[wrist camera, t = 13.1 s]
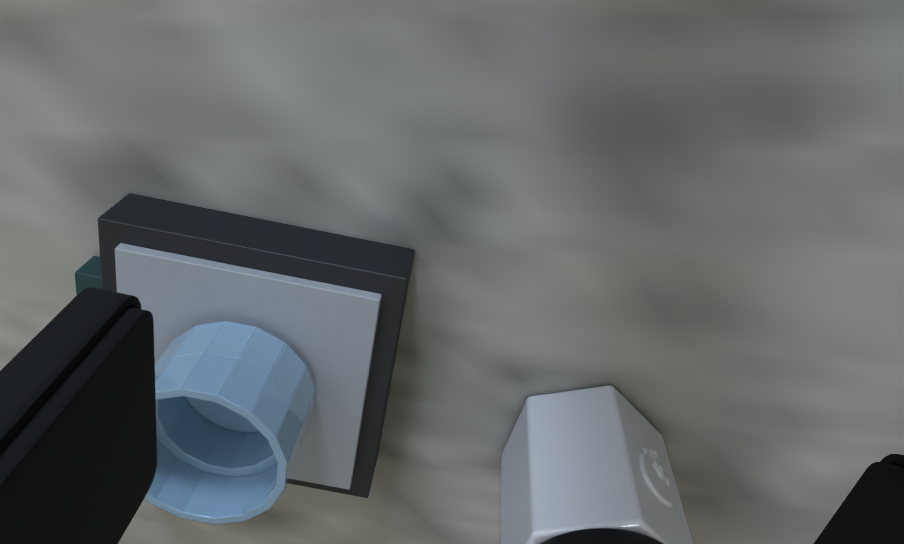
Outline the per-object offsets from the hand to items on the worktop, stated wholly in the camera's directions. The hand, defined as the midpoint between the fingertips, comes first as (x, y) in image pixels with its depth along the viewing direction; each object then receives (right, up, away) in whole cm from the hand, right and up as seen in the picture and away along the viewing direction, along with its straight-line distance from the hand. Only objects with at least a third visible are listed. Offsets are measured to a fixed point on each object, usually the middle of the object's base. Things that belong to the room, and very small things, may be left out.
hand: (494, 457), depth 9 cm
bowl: (-11, -3, +25) cm, 27 cm away
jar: (+7, -7, +30) cm, 32 cm away
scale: (-11, -1, +28) cm, 30 cm away
